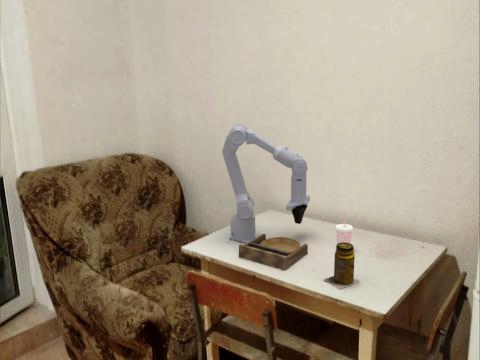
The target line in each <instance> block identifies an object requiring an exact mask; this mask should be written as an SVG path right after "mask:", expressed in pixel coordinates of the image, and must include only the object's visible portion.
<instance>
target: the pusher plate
mask: <svg viewBox="0 0 480 360" xmlns="http://www.w3.org/2000/svg"><path fill="white" fill-rule="evenodd" d="M249 246H250V247H253V248H257V249H261V250H265V251H269V252H272V253H276V254H280V255H284V256H288V255H289V252H286V251H282V250H278V249H274V248H270V247H267V246H263V245H259V244H255V243H251V242H250V243H249Z"/></svg>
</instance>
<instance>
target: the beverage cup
mask: <svg viewBox="0 0 480 360" xmlns="http://www.w3.org/2000/svg"><path fill="white" fill-rule="evenodd" d="M335 230H336V233H335V234H336V245H337V244H338V243H342V242H346V243H350V244H352V235H353V230H354V226H353V225H351V224H348V223H346V213H343V223H338V224H336V225H335Z"/></svg>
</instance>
